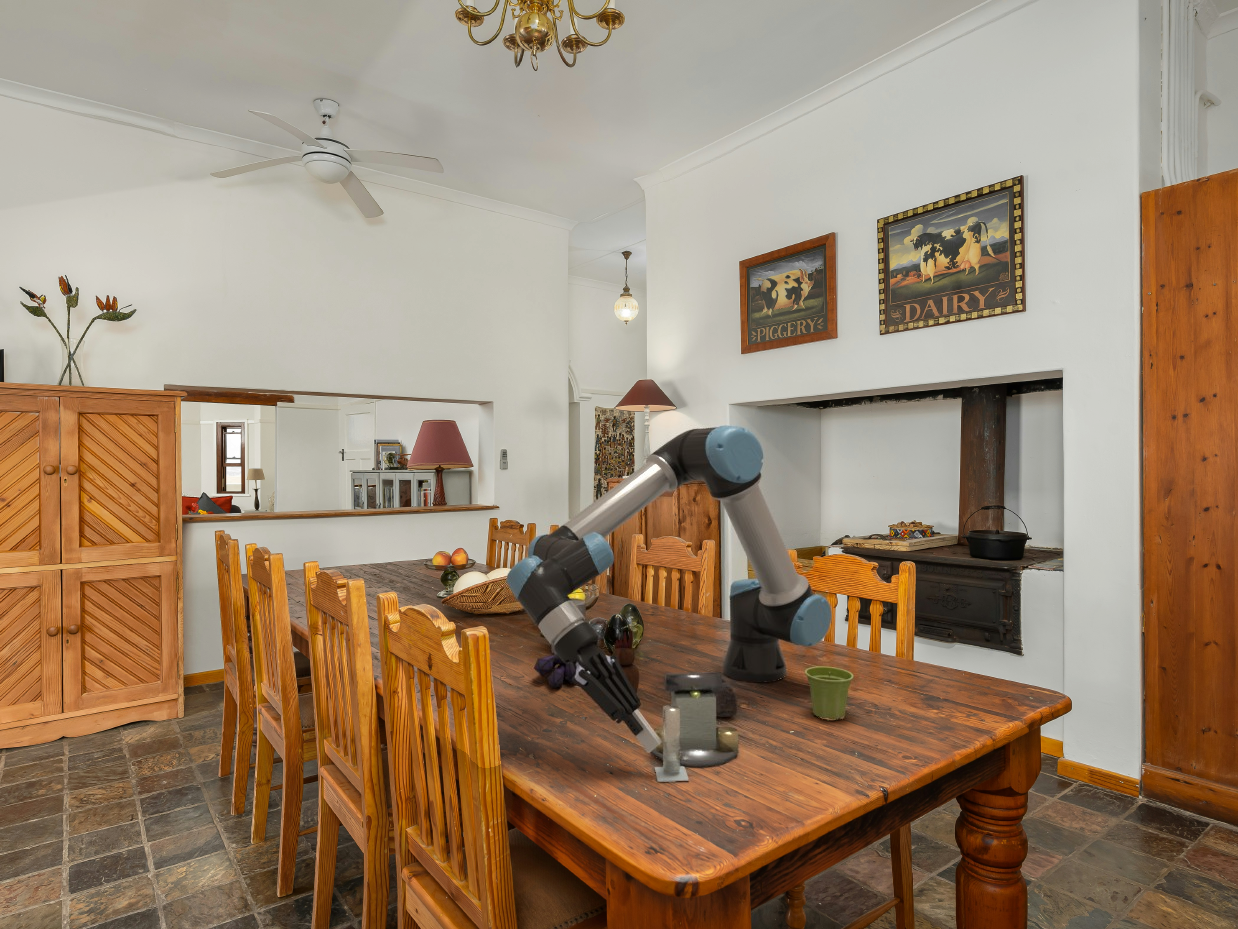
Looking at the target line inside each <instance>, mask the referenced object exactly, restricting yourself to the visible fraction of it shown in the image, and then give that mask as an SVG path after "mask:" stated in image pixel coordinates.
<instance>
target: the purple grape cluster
mask: <svg viewBox="0 0 1238 929" xmlns="http://www.w3.org/2000/svg"><path fill="white" fill-rule="evenodd" d="M555 667H556V668H555ZM533 670H534V671H536V673H538V674H539V675H540V676H541V677H545V676H547V675H548V674H550V675H549V676H548V677H547V679H546V680H547V681H548V683H549V685H550V687H551V688H552V689H556V688H558V687H561V686H563V682H564V678H565V680H566V681H569V683H570V684H571V685H575V684H574V683H573V681H572V678H573V677H574V676H575V675H576V671H575V669H574V668H573V665H572V663H570V664H565V663H564V662H563V661H562V660H561V658H560V657H559V655H558V654H553V653H552V654H549V655H546V656H543V657H537V659H536V662H535V663H534V667H533Z"/></svg>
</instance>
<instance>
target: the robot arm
mask: <svg viewBox="0 0 1238 929" xmlns="http://www.w3.org/2000/svg"><path fill="white" fill-rule="evenodd" d="M763 459H764V452H763V448H762V446H761V442H760V441H759V439H758V437H756V435H755V434H754V433H753V432H751V431H750V430H749V429H747V428H745V427H741V426H737V425H736V426H735V425H720V426H714V427H703V428H692V429H689V430H686V431H683V432H681V433H680V434H678V435H676V436H675V437H673V438H672V439H670V440H669V441H667V442H665V443H664V444H663V445H662V446H660V447H659V448H658V449H656V450H655V451H653V452H652V453H651V454H649V455H648V456H647V457H646V460H645V464H643V465H642V466H641V467H639V468H638V469H637V470H636V471H634V472H633V473H632V474H630V475H629V476H627V477H626V478H625V479H623V480H622V481H621V482H619V483H617V484H616V485H615V486H614V487H612V488H611V489H610V490H608V491H607V492H606V493H604V494H603V495H602V496H600V497H599V498H597V499H596V500H595V501H593V502H592V503H591V504H589V505H588V506H587V507H585V508H584V509H583V510H582V511H580V512H579V513H577V514H576V515H575V516H573V517H571V518H570V519H569V520H568V521H566V522H564V524H562V525H561V526H559V527H557V528H556V529H555V530H553V531H552V532H551V533H546V534H540V535H538V536H536V537H534V538H533V539H532V540H531V541H530V543H529V545H528V548H527V557H524V558H523V559H520V561H518V562H517V563H516V564H515V565H513V566H512V568H510V570H509V571H508V573H507V575H506V584H507V586H508V587H509V589H510V590H511V592H512V594H513V595H514V597H515V600H516V601H517V602H518V603H519V604H520V606H521V607H522V608H523V610H525V612H526V613H527V614H528V615H529V617H530V618H531V619H532V621H533V622H534V623H535V625H536V627H537V628H538V629H539V630H540V632H541V633H542V634H543V636H544V638H545V639H546V640H547V641H548V642H549V644H550V645H555V646H554V650H555V651H556V653H557V654H558V655H559V657H560V658H561V660H562V661H563V662H564V663H565V664H570V663H572V665H573V668H574V669H575V671H576V675H575V676H574V677H573V678H572V681H573V683H574V684H573V685H576V686H578V687H579V688H580V689H582V691H584V692H585V694H587V696H588V697H589V698H591V700H592V701H593V702H594V703H596V705H597V706H598V707H599V708H600V709H601V710H602V712H604V713H605V715H607V716H608V717H609V718H610V720H612V721H613V722H616V723H617V724H621V723H622V722H624V724H625V725H626V726H627V728H628V729H629V730H630V732H631V733H632V734H633V735H634V737H635V739H636V740H637V741H638V743H640V745H641V746H642V747H643V749H644V750H645V751H646V753H647V754H650V753H651V751H652V750H653V749H655V748H656V747H657V746H658V745H659V744H660V743H661V742H662V741H661V740H660V738H659V737H658V736H657V734H656V733H655V732H654V729H653V728H652V727H651V725H650V724H649V722H648V721H647V719H646V718H645V717H644V716H643V714H642V713H641V712H640V710H639V708H640V707H641V706H642V703H641V698H640V696H639V695H638V693H636V692H635V690H634V688H633V687H632V685H631V683H630V681H629V680H628V678H627V676H626V675H625V673H624V671H623V669H622V668H621V666H620V663H619V660H618V657H617V656H616V655H615V654H613V653H612V655H606V652H605V651H604V650H603V648H600V647H599V646H598V641H599V639H600V637H599V634H598V633H597V632H596V630H595V629H594V628H593V626H592V625H591V624H590V623H589V622H588V621H586V622H584V620H585V617H584V616H583V615H582V613H581V612H580V611H579V609H578V608H577V607H576V606H575V604H574V603H573V602H572V600H571V599H570V596H569V595H571V594H572V593H573V594H574V592H576V591H577V590H578V589H580V588H581V587H583V586H585V585H586V584H587V583H590V582H591V581H592V580H594V579H595V578H597V577H599V576H601V575H602V574H603V573H604V572H605V571H607V570H608V569H610V567H611V566H612V565H613V564H614V560H615V555H614V552H613V550H612V547H611V546H610V544H609V542H608V541H607V540H606V539H605V538H607V537H608V536H609V535H610V534H612V533H613V532H615V531H616V530H617V529H618V528H621V526H622V525H623V524H625V523H626V522H628V521H629V520H630V519H631V518H632V517H634V516H635V515H636V514H638V513H639V512H640V511H642V510H643V509H644V508H645V507H647V506H648V505H650V504H651V503H652V502H654V501H655V500H656V499H658V498H659V497H661V495H663V494H664V493H665V492H669V493H670V492H674V491H675V490H677V489H678V488H679V487H681V486H682V485H685V484H687V483H691V482H692V483H693V482H696V481H697V482H704V483H705V486H706V488H707V490H708V491H709V494H710V496H711V498H712V499H714V500H718V501H720V502H721V503H722V505H723V507H724V509H725V511H726V514H727V516H728V518H729V520H730V523H731V526H732V527H733V529H734V531H735V533H736V535H737V537H738V538H737V539H738V540H739V543H740V544H741V546H742V548H743V551H744V553H745V556H746V558H747V560H748V561H749V564H750V566H751V568H752V570H753V573H754V576H756V577H755V578H747V579H746V578H745V579H738V580H734V581H733V582H732V583H731V585H730V590H729V592H730V593H729V622H730V623H729V626H730V627H729V628H730V630H729V631H730V633H729V634H730V636H729V638H730V640H729V644H728V647H727V650H726V652H725V656H724V659H723V664H722V667H723V671H722V672H723V674H724V675H725V676H727V677H728V676H729V678H731V679H733V678H734V679H735V680H737V681H742V682H748V681H749V683H766V682H765V681H772V682H775V681H774V680H778V679H780V678H783V677H784V676H787V664H786V661H785V659H784V658H785V657H784V655H783V652H782V650H781V647H780V643H779V642H780V641H779V640H781V641H784V642H787V643H790V644H793V645H794V646H802V647H814V646H815V645H818V644H819V643H820V642H822V640H823V639H824V638H825V637H826V635H827V634H828V632H829V630H830V625H831V623H832V606H831V604H830V602H829V600H827V598H826V597H825V596H823V595H821V594H815V593H814V591H813V589H812V587H811V585H810V582H809V580H808V579H807V577H806V576H804V575H802V574H798V572H797V570H796V567H795V566H794V563H793V560H792V558H791V556H790V554H789V552H788V549H787V548H786V545H785V542H784V541H783V538H782V536H781V533H780V532H779V529H778V526H777V525H776V523H775V520H774V517H773V516H772V513H771V511H770V509H769V506H768V504H767V502H766V500H765V497H764V495H763V493H762V490H761V489H760V486H759V484H760V481H761V479H762V477H763V474H762V473H761V470H762V468H763V464H764V462H762V460H763ZM783 679H784V678H783ZM778 681H779V680H778Z"/></svg>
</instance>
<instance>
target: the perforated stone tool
mask: <svg viewBox="0 0 1238 929" xmlns="http://www.w3.org/2000/svg"><path fill="white" fill-rule="evenodd" d="M713 693H714V695H715V696H716V717H719V718H725V717H726V718H732V717H734V716H735V715H736V714H737V712H738V709H739V708H738V707H739V705H738V704H739V701H738V697H737V693H736V691H735V689H734V687H733V686H732V685H731V684H730V682H728V681H727V680H726V679H725V678H723V677H722V691H713Z"/></svg>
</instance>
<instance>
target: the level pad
mask: <svg viewBox="0 0 1238 929" xmlns="http://www.w3.org/2000/svg"><path fill="white" fill-rule="evenodd" d="M654 771H655V772H656V773H655V772H654V773H655V776H656V780H657V783H658V782H669V783H676V782H675V781H689V782H690V780H689V776H688V774H687V770H686V767H684V766H680V771H678V772H675V773H670V772H666V771H664V770H663V766H654ZM673 781H674V782H673Z"/></svg>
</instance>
